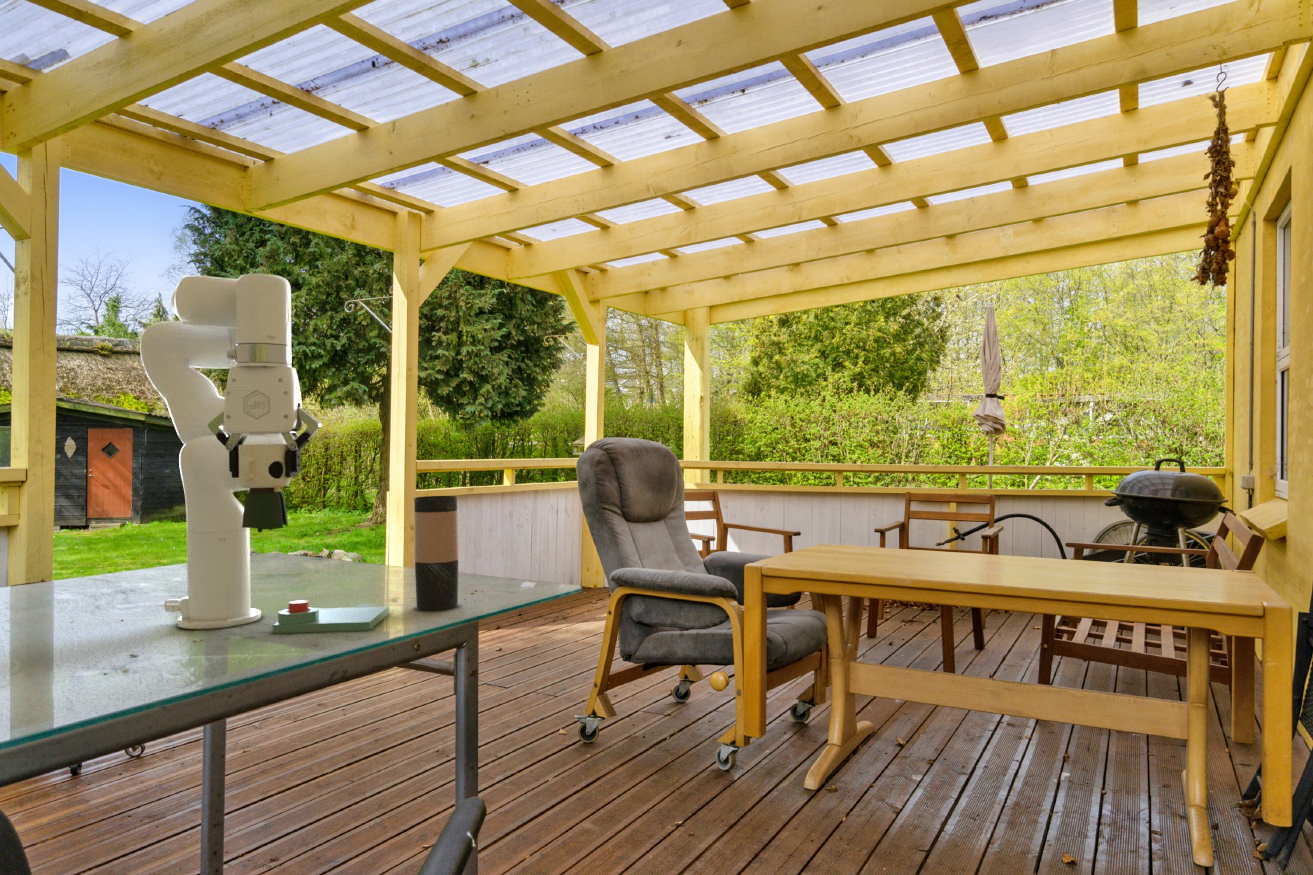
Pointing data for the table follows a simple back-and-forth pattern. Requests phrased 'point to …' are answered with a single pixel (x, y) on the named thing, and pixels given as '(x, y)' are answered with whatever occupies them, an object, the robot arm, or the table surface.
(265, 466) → the character mug
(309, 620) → the scale
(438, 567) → the travel mug
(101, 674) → the table surface
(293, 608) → the button
